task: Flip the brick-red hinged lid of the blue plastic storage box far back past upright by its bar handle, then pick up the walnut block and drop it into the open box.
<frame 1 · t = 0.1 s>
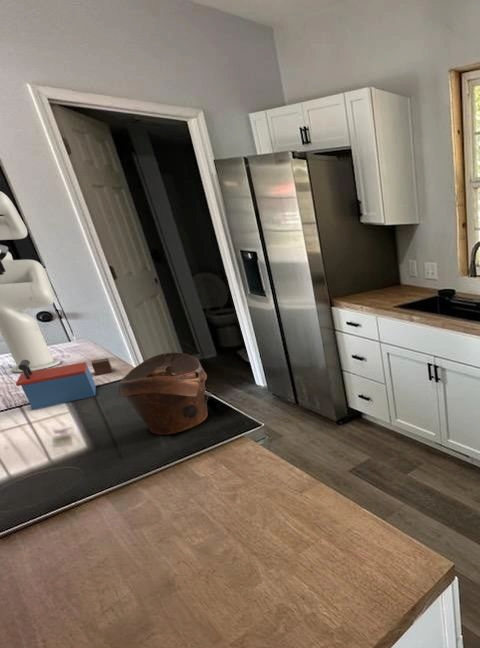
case: (180, 424, 111), on the worktop
box lid: (50, 366, 126), point 11 cm above the worktop, hinge at 0.0°
walnut block: (104, 372, 151), on the worktop
storage box: (66, 397, 130), on the worktop
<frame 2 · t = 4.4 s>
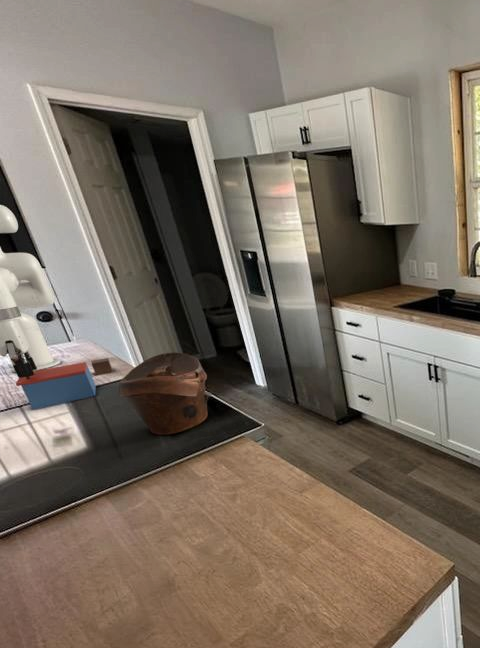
hand: (28, 372, 124), 10 cm above the worktop, tool pointing down, fingers closed on box lid, 6 cm apart
box lid: (50, 366, 126), point 11 cm above the worktop, hinge at 0.0°, touching gripper
everything else where it was.
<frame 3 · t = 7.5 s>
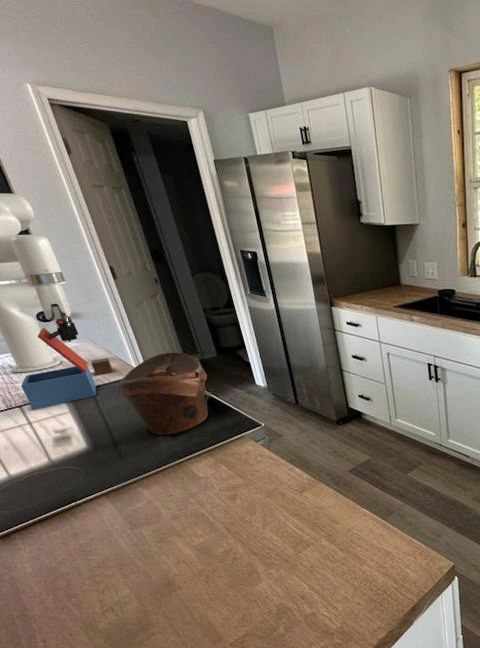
hand: (70, 337, 128), 18 cm above the worktop, tool pointing down, fingers closed on box lid, 6 cm apart
box lid: (72, 345, 128), point 16 cm above the worktop, hinge at 65.2°, touching gripper
everything else where it was.
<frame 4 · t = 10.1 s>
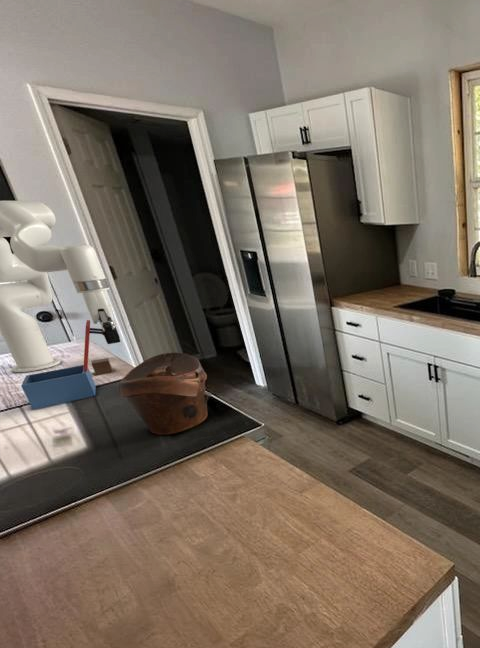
hand: (113, 340, 135), 15 cm above the worktop, tool pointing down, fingers closed on box lid, 6 cm apart
box lid: (97, 346, 132), point 14 cm above the worktop, hinge at 107.9°, touching gripper
everything else where it was.
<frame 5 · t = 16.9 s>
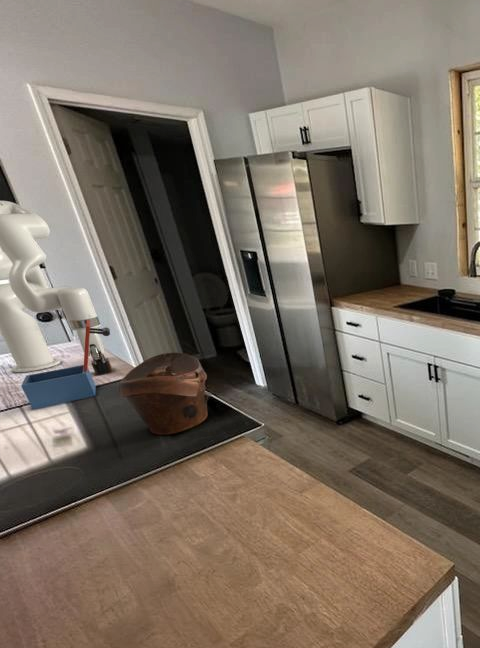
hand: (104, 371, 151), 0 cm above the worktop, tool pointing down, fingers closed on walnut block, 4 cm apart
box lid: (97, 346, 132), point 14 cm above the worktop, hinge at 108.1°
walnut block: (104, 372, 151), on the worktop, touching gripper
everything else where it was.
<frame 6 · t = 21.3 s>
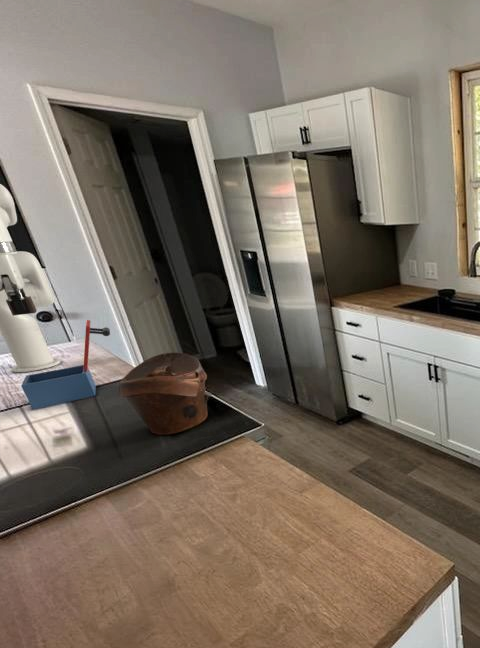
hand: (24, 312, 122), 27 cm above the worktop, tool pointing down, fingers closed on walnut block, 4 cm apart
walnut block: (25, 313, 122), point 27 cm above the worktop, touching gripper
everything else where it was.
when the fingers open (7 cm above the worktop, at t = 25.9 s): walnut block drops 6 cm, resting on storage box.
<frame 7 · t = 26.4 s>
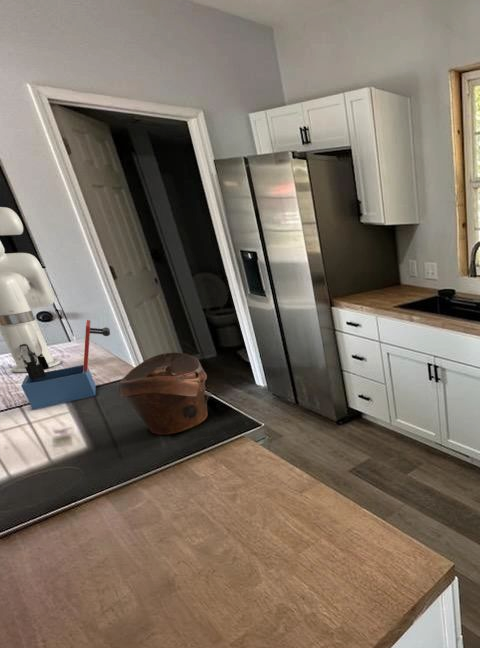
hand: (40, 373, 125), 9 cm above the worktop, tool pointing down, fingers open, 9 cm apart
walnut block: (51, 397, 128), point 1 cm above the worktop, touching storage box
everything else where it was.
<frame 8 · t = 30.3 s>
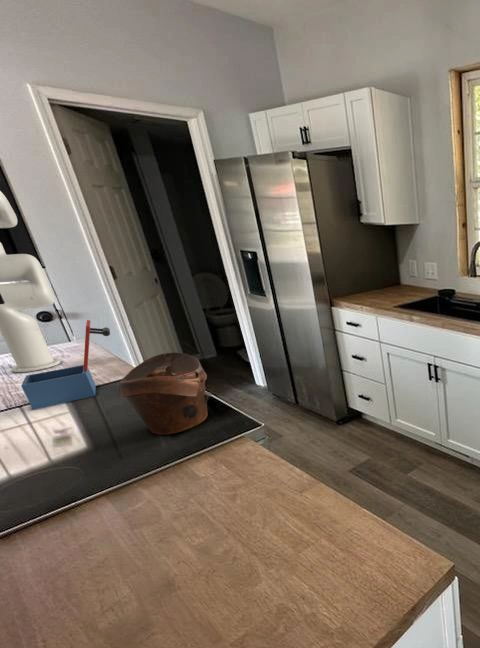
nothing on the worktop moved.
at the end: box lid at +108° (first picture: +0°); walnut block inside the target area in the storage box (3.0 cm from its centre), point 0.8 cm above the storage box's base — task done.
